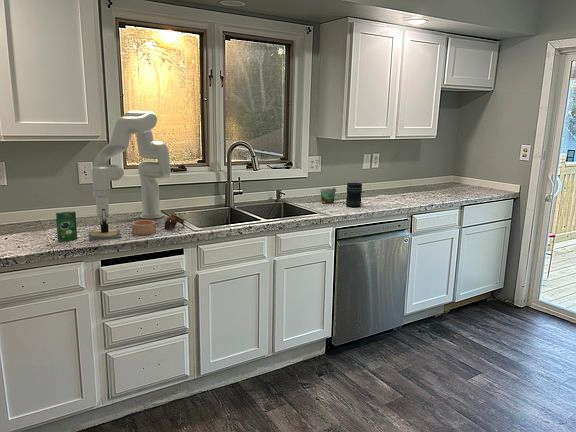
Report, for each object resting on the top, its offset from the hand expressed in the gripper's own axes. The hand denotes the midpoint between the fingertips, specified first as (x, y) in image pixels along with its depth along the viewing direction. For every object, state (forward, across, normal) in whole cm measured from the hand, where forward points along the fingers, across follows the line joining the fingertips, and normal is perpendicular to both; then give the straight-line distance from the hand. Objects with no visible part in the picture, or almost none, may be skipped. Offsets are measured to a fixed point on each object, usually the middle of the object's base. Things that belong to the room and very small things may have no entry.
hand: (104, 230), depth 218 cm
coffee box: (+3, +2, -16) cm, 16 cm away
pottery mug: (+3, -3, +33) cm, 33 cm away
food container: (+3, -36, +142) cm, 147 cm away
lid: (+2, 0, 0) cm, 2 cm away
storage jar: (+3, -22, +152) cm, 154 cm away
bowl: (+3, 0, +18) cm, 18 cm away
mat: (+3, 0, 0) cm, 3 cm away
